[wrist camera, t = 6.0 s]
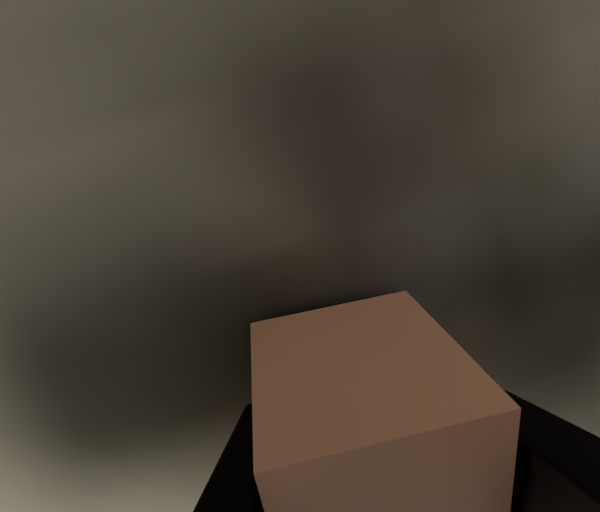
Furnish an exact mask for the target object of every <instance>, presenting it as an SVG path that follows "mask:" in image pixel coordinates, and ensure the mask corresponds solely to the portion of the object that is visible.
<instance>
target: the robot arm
mask: <svg viewBox="0 0 600 512" xmlns="http://www.w3.org/2000/svg"><path fill="white" fill-rule="evenodd" d="M503 390H504V389H503ZM504 391H505V392H506V393H507V394H508V395H509V396H510V397H511V398H512V399H513V400H514V401H515V402H516V403H517V404H518V405H519V406H520V407H521V415H520V424H519V434H518V443H517V453H516V462H515V472H514V482H513V491H512V501H511V510H510V512H600V437H598V436H596V435H594V434H592V433H590V432H588V431H586V430H584V429H582V428H580V427H578V426H576V425H574V424H572V423H570V422H568V421H566V420H564V419H562V418H560V417H558V416H556V415H554V414H552V413H550V412H548V411H546V410H544V409H542V408H540V407H538V406H536V405H534V404H532V403H530V402H528V401H526V400H524V399H522V398H520V397H518V396H516V395H514V394H512V393H510V392H508V391H506V390H504ZM193 512H264V508H263V505H262V501H261V498H260V495H259V491H258V488H257V484H256V481H255V477H254V472H253V424H252V403H248V404H247V405H246V406H245V408H244V410H243V412H242V414H241V417H240V419H239V421H238V423H237V425H236V427H235V429H234V431H233V433H232V435H231V437H230V439H229V441H228V443H227V445H226V447H225V449H224V451H223V453H222V455H221V457H220V459H219V461H218V463H217V465H216V467H215V469H214V471H213V473H212V475H211V477H210V479H209V481H208V483H207V485H206V487H205V489H204V491H203V493H202V495H201V497H200V499H199V501H198V503H197V505H196V507H195V509H194V511H193Z"/></svg>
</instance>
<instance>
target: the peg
mask: <svg viewBox="0 0 600 512" xmlns="http://www.w3.org/2000/svg"><path fill="white" fill-rule="evenodd" d="M250 326H251V375H252V424H253V472H254V477H255V481H256V484H257V488H258V491H259V495H260V498H261V501H262V505H263V508H264V512H510V510H511V501H512V491H513V482H514V472H515V462H516V453H517V443H518V434H519V424H520V415H521V407H520V406H519V405H518V404H517V403H516V402H515V401H514V400H513V399H512V398H511V397H510V396H509V395H508V394H507V393H506V392H505V391H504V390H503V389H502V388H501V387H500V386H499V385H498V384H497V383H496V382H495V381H494V380H493V379H492V378H491V377H490V376H489V375H488V374H487V373H486V372H485V371H484V370H483V369H482V368H481V367H480V366H479V365H478V364H477V363H476V362H475V361H474V360H473V359H472V357H471V356H470V355H469V354H468V353H467V352H466V351H465V350H464V349H463V348H462V347H461V346H460V345H459V344H458V343H457V342H456V341H455V340H454V339H453V338H452V337H451V336H450V335H449V334H448V333H447V332H446V331H445V330H444V329H443V328H442V327H441V326H440V325H439V324H438V323H437V322H436V321H435V320H434V319H433V318H432V317H431V316H430V315H429V314H428V313H427V312H426V311H425V310H424V309H423V308H422V306H421V305H420V304H419V303H418V302H417V301H416V300H415V299H414V298H413V297H412V296H411V295H410V294H409V293H408V292H407V291H401V292H396V293H391V294H387V295H382V296H377V297H372V298H368V299H363V300H358V301H353V302H349V303H344V304H339V305H334V306H330V307H325V308H320V309H315V310H311V311H306V312H301V313H296V314H292V315H287V316H282V317H277V318H273V319H268V320H263V321H258V322H254V323H250Z"/></svg>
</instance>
